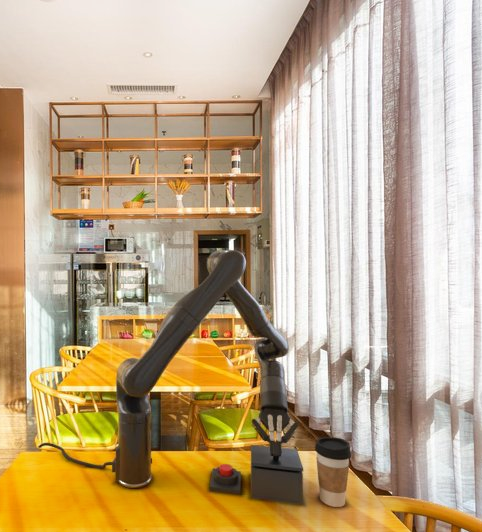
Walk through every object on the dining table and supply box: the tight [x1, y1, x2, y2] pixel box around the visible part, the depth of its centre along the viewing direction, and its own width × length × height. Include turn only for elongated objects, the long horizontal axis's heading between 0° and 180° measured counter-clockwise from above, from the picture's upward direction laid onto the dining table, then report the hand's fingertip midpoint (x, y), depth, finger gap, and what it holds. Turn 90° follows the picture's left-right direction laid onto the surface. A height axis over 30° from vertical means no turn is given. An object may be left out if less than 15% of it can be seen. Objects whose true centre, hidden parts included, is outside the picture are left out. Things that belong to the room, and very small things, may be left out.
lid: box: [250, 444, 304, 472], centre depth 106 cm, size 12×13×1 cm
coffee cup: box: [314, 436, 352, 508], centre depth 102 cm, size 8×8×15 cm
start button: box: [218, 463, 234, 476], centre depth 109 cm, size 4×4×2 cm
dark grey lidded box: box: [250, 465, 304, 506], centre depth 107 cm, size 12×13×8 cm
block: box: [209, 466, 242, 496], centre depth 109 cm, size 8×10×3 cm
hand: (276, 457), depth 104 cm, fingers closed
